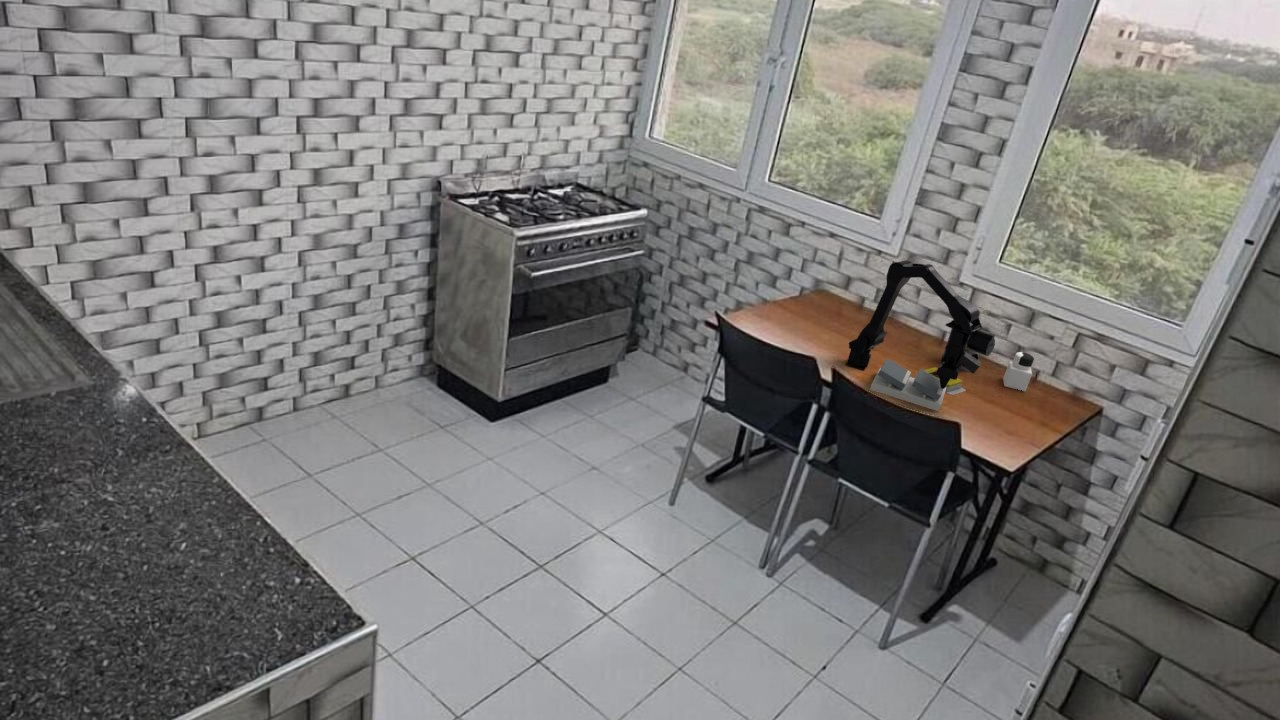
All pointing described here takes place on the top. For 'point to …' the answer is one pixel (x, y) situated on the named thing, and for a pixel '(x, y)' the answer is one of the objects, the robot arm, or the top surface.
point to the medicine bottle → (1019, 371)
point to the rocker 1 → (894, 374)
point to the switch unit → (906, 393)
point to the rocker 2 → (928, 384)
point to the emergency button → (952, 386)
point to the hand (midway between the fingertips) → (942, 388)
